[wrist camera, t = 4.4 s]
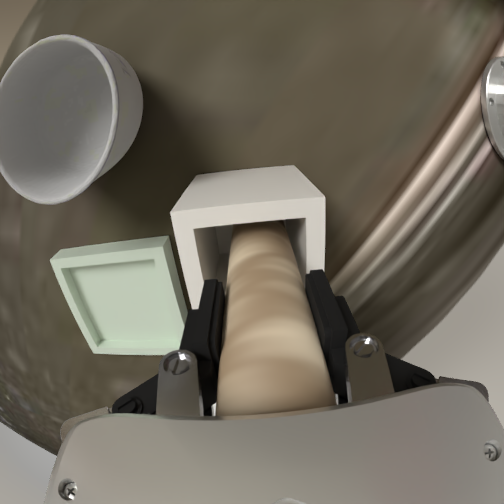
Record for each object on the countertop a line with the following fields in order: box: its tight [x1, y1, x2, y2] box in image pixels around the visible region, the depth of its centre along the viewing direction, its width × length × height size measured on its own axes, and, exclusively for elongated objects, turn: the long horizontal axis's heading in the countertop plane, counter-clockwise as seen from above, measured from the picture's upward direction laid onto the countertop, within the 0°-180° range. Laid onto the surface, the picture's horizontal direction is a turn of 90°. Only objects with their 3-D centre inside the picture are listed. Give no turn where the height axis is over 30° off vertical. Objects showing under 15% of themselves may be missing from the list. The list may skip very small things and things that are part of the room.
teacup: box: [0, 34, 143, 205], centre depth 15 cm, size 14×11×8 cm
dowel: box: [215, 220, 337, 416], centre depth 14 cm, size 4×4×16 cm
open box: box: [170, 165, 325, 309], centre depth 19 cm, size 8×8×9 cm
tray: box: [50, 235, 188, 355], centre depth 26 cm, size 12×12×2 cm
